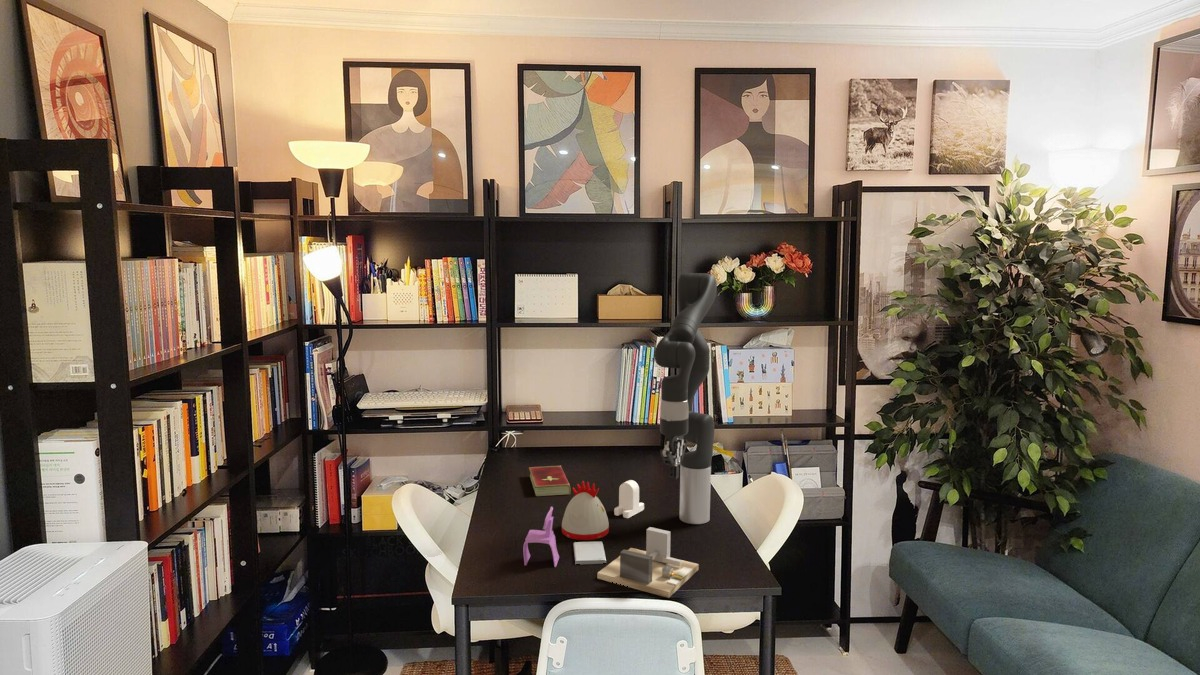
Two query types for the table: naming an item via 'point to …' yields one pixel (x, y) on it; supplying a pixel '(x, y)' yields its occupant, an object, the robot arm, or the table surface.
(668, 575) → the grey block with pin
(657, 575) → the bench
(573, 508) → the kitchen timer
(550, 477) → the hardcover book
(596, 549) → the hard drive
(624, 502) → the cable organizer
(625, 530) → the table surface
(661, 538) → the upright plate with peg
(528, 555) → the toy chair
